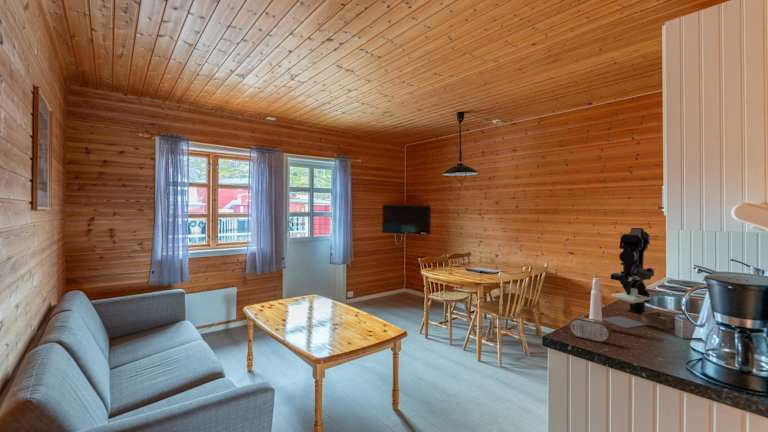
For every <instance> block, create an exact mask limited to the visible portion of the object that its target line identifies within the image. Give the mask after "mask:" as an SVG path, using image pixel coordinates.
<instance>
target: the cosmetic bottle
mask: <svg viewBox="0 0 768 432" xmlns="http://www.w3.org/2000/svg"><path fill="white" fill-rule="evenodd" d="M592 279H593V280H592V289H591V292H590V302H589V303H590V305H589V317H588V318H589V319H594V320H600V321H603V320H602V318H603V311H602V293H601V291H600V290H601V286H600V285H601V282H600V278H599V277H598V278H597V277H593V278H592Z"/></svg>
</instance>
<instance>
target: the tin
mask: <svg viewBox="0 0 768 432" xmlns="http://www.w3.org/2000/svg"><path fill="white" fill-rule="evenodd" d="M568 327H569V331H570V332H571V334H573V336H575V337H577V338H579V337H580V339H583V338H584V339H583V340H587V339H588V341H592V342H596V341H597V343H606V342H608V341H610V339H611V338H612V335H613V330H612V329H611V326H610V325H609V324H608V323H607V322H606V321H603V320H602V321H600V320H594V319H589V317H584V316H574V317H572V319H571V320H570V322H569V323H568Z"/></svg>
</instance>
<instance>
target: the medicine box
mask: <svg viewBox="0 0 768 432" xmlns="http://www.w3.org/2000/svg"><path fill="white" fill-rule="evenodd" d="M685 315H686V314H675V315H674V316H675V328H674V335H675V336H677V337H679V338H680V339H687V340H688V339H691V338H692V335H693V333H694V330H695V325H694V324H692V323H691V322H690V321H689V320H688V319H687V317H686V316H685ZM689 315H690V317H691V318H692V319H693V320H694V321H695V322H697V321H698V318H699V317H700V316H698V315H695V314H689Z"/></svg>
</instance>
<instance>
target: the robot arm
mask: <svg viewBox="0 0 768 432" xmlns="http://www.w3.org/2000/svg"><path fill="white" fill-rule="evenodd" d="M650 244H651V239H650V234H649V233H648V232H647V231H645V229H644V228H642V227H631V228H630V231H629V232H628V233H623V234H622V235H620V239H619V247H618V248H619V249H622V251H621V252H620V253H619V255H618V257H619V260H620V261H621V262H620V265H621V266H622V271H621V270H620V272H614V273H611V274H610V280H613V281H618V282H620V284H621V286H622V288H623V291H624V290H625V292H626V293H627V295H630V292H631V288H634V289H638V295H641V296H645V297H650V292H649V290H647V286H646V284H645V282H644V281H648V280H649V281H650V280H651V279H652V277H654V276H655V271H654V269H653V268H651V267H648V268H644V266H645V265H644V263H645V262H644V261H645V252H646V251H648V249H649V246H650ZM650 302H651V300H644V302H639V303H630V302H629V309H626V311H627V312H630V313H634V314H636V315H642V313H645V312H647V311H646V303H650Z"/></svg>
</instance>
